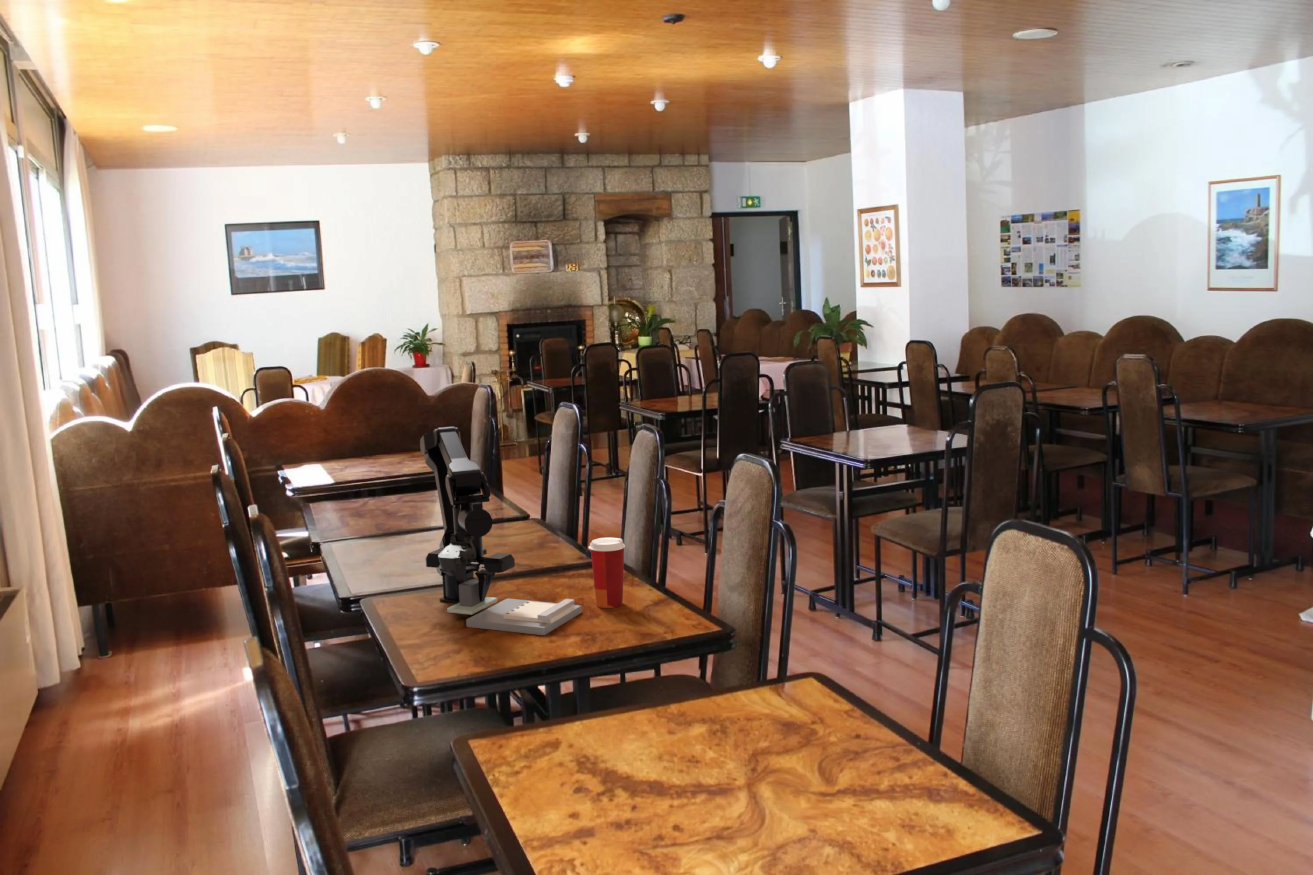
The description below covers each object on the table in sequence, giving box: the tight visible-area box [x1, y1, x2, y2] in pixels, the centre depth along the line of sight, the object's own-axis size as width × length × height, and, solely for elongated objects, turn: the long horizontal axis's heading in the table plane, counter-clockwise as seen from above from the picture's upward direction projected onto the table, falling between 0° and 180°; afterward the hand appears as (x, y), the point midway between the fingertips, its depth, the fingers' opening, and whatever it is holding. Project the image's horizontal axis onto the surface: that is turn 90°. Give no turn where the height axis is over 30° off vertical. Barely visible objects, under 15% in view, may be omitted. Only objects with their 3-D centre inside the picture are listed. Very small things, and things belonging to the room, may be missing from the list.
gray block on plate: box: [446, 578, 498, 616], centre depth 233 cm, size 6×10×5 cm, turn 157°
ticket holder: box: [465, 597, 582, 636], centre depth 228 cm, size 18×16×3 cm
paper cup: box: [588, 536, 626, 609], centre depth 236 cm, size 8×8×14 cm
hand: (472, 600), depth 233 cm, fingers open, 5 cm apart
